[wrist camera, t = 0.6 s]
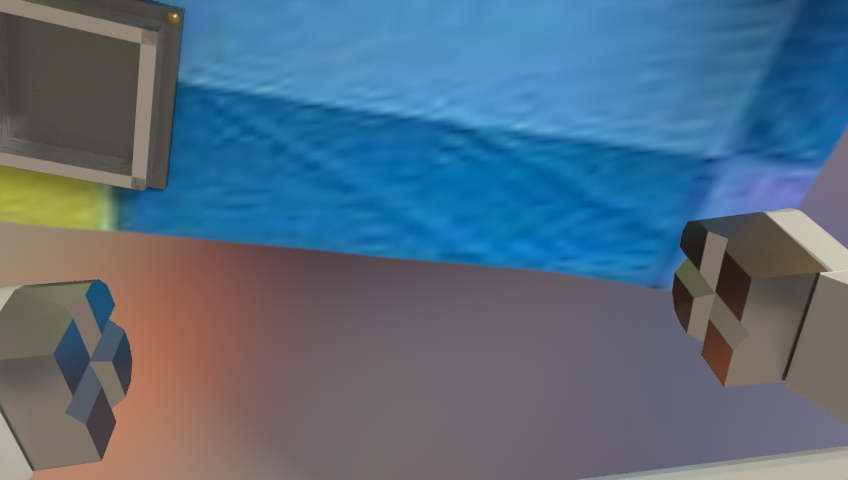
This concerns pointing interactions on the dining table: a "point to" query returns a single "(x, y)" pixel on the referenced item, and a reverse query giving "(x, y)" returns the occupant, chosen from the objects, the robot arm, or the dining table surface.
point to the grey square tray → (89, 88)
